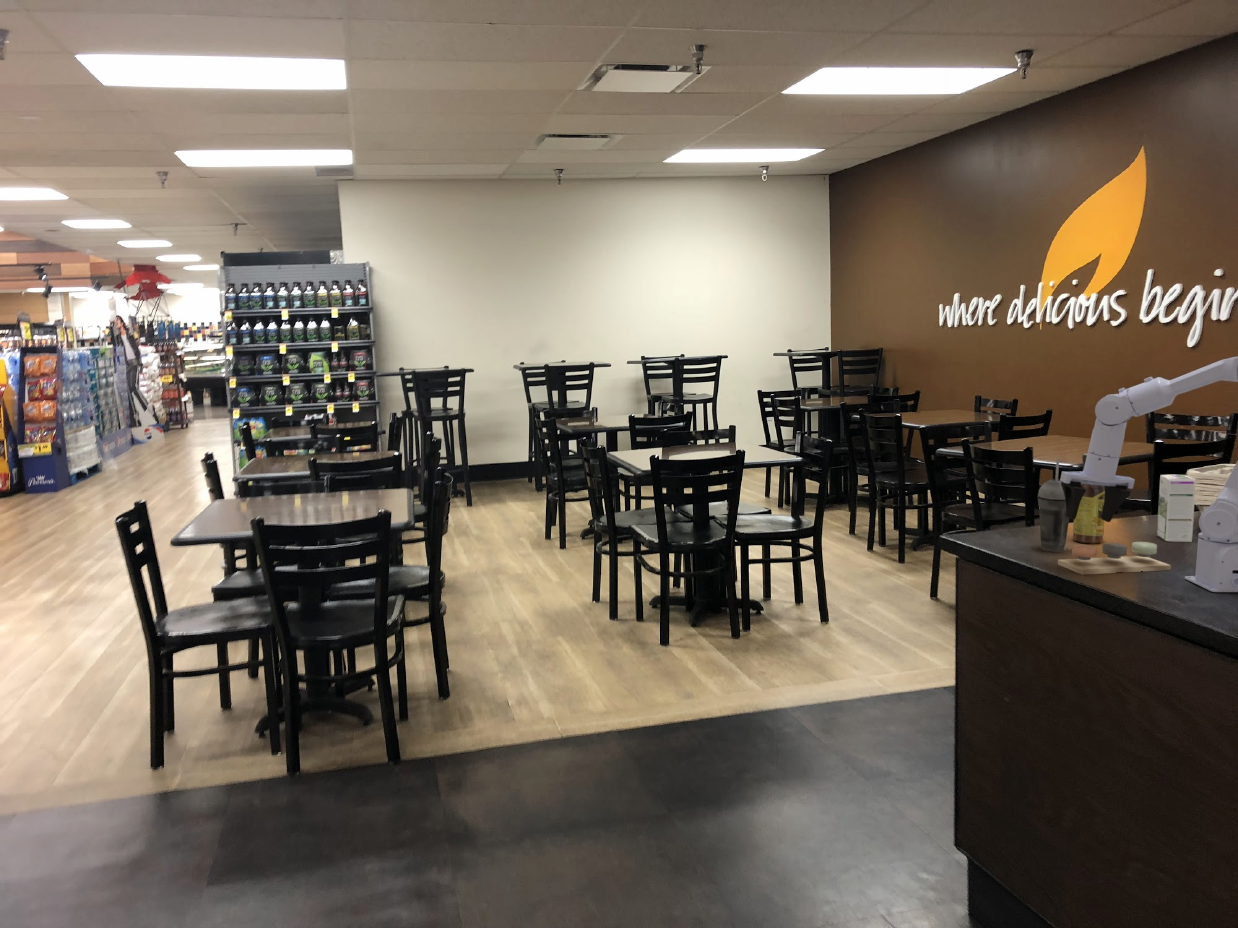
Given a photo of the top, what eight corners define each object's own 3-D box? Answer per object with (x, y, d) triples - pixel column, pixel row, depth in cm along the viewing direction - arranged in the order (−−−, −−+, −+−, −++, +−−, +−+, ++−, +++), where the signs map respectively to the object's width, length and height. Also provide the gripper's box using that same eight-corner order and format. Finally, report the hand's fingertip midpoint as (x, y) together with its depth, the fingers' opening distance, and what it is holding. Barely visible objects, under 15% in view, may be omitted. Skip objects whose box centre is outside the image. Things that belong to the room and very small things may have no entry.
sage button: (1146, 552, 192) (1147, 541, 191) (1161, 557, 187) (1162, 546, 187) (1126, 553, 191) (1127, 542, 191) (1141, 558, 187) (1141, 547, 186)
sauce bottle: (1102, 545, 207) (1108, 457, 204) (1071, 542, 210) (1076, 455, 207) (1103, 539, 212) (1109, 453, 209) (1073, 537, 215) (1078, 451, 212)
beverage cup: (1033, 551, 202) (1037, 460, 199) (1035, 544, 209) (1040, 456, 206) (1070, 555, 199) (1075, 462, 196) (1071, 547, 205) (1077, 457, 202)
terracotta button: (1087, 555, 190) (1088, 543, 190) (1101, 560, 186) (1101, 548, 185) (1067, 556, 189) (1068, 544, 189) (1080, 561, 185) (1081, 549, 185)
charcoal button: (1117, 553, 191) (1117, 542, 190) (1131, 559, 186) (1132, 547, 186) (1097, 554, 190) (1097, 543, 190) (1110, 560, 186) (1111, 548, 185)
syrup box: (1192, 542, 209) (1198, 478, 207) (1164, 541, 210) (1168, 477, 208) (1183, 536, 214) (1187, 474, 212) (1154, 535, 215) (1159, 473, 213)
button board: (1143, 560, 194) (1143, 555, 194) (1170, 570, 186) (1170, 565, 186) (1057, 564, 191) (1058, 559, 191) (1081, 574, 183) (1082, 569, 183)
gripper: (1124, 452, 190) (1109, 515, 193) (1058, 446, 188) (1043, 510, 191) (1147, 460, 183) (1130, 526, 186) (1078, 455, 181) (1063, 521, 184)
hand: (1088, 519), depth 188 cm, fingers open, 7 cm apart
